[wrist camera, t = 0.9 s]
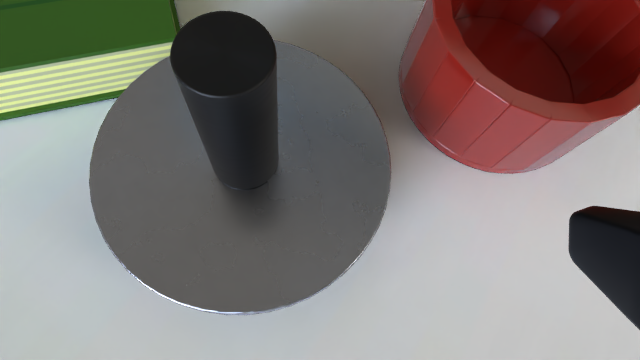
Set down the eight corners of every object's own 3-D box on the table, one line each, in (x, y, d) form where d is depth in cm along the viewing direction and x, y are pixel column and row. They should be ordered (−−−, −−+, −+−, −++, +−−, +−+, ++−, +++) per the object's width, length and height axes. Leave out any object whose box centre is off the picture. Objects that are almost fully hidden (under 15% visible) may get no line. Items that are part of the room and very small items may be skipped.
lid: (443, 207, 19) (549, 122, 11) (185, 385, 15) (95, 429, 8) (290, 10, 22) (295, -160, 14) (48, 123, 19) (-109, -21, 11)
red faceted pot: (618, 114, 25) (715, 50, 19) (483, 211, 22) (551, 168, 17) (495, -13, 28) (550, -101, 22) (361, 59, 25) (384, -23, 19)
